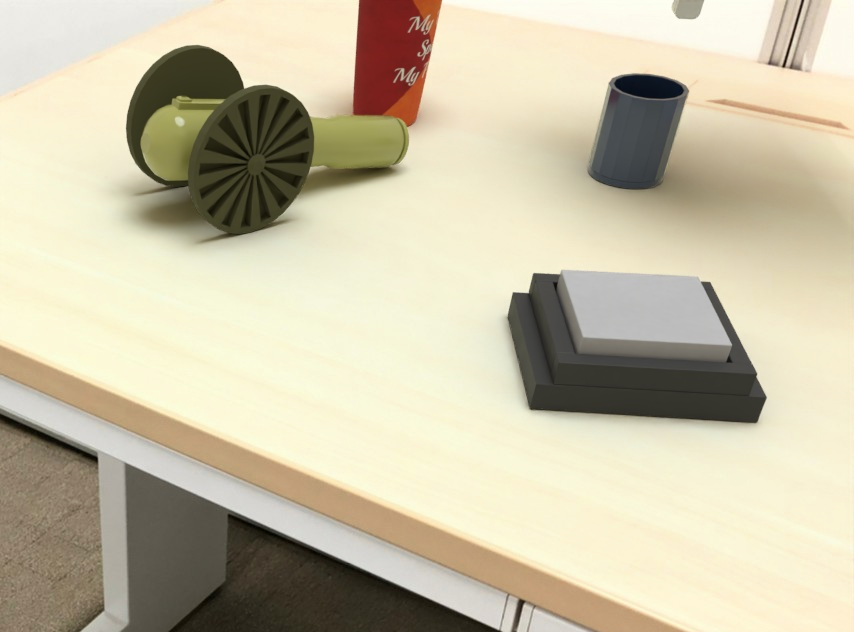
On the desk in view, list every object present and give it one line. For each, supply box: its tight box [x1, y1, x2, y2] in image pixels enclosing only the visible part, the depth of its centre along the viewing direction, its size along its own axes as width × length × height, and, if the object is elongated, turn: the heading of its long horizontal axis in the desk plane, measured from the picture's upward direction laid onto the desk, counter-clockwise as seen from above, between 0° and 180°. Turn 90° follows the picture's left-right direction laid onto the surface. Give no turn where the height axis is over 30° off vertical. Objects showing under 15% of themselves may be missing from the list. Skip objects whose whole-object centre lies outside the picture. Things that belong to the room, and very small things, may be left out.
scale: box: [507, 272, 768, 423], centre depth 82 cm, size 14×12×4 cm
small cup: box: [587, 72, 690, 190], centre depth 105 cm, size 6×6×8 cm
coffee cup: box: [352, 0, 443, 127], centre depth 112 cm, size 8×8×15 cm
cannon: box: [125, 44, 410, 235], centre depth 101 cm, size 25×12×11 cm, turn 117°
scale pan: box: [556, 269, 732, 362], centre depth 81 cm, size 9×9×2 cm
